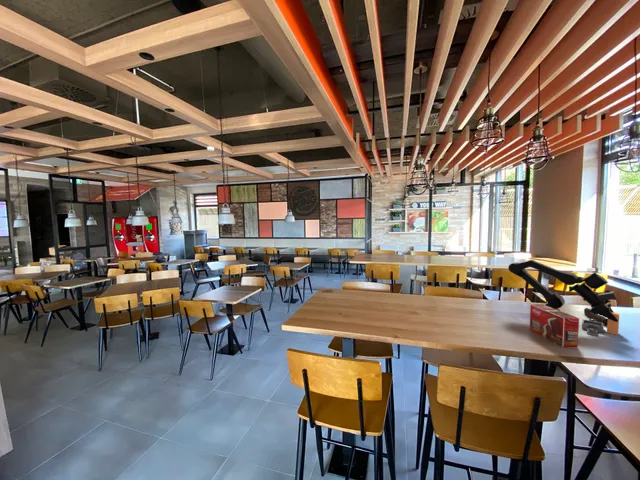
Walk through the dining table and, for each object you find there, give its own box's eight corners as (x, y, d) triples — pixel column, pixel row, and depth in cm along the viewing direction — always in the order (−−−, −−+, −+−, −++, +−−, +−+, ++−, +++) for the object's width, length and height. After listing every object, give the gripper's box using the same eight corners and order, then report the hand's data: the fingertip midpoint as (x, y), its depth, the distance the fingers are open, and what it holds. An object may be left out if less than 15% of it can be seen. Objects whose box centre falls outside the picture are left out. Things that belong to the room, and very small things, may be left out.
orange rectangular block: (617, 334, 130) (619, 314, 129) (606, 332, 133) (608, 312, 132) (618, 332, 132) (619, 313, 131) (607, 330, 135) (608, 311, 134)
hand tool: (612, 326, 140) (612, 318, 140) (602, 325, 142) (603, 317, 141) (590, 315, 158) (590, 307, 158) (581, 314, 159) (582, 306, 159)
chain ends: (603, 337, 127) (603, 331, 127) (581, 332, 133) (581, 326, 133) (602, 324, 142) (602, 319, 142) (582, 321, 148) (583, 316, 147)
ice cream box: (529, 329, 137) (530, 304, 137) (542, 329, 137) (543, 304, 136) (562, 347, 117) (563, 318, 117) (577, 347, 117) (579, 318, 116)
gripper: (601, 288, 128) (635, 316, 120) (605, 282, 140) (636, 308, 132) (578, 300, 135) (609, 328, 127) (584, 294, 146) (612, 319, 138)
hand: (617, 320), depth 131 cm, fingers closed on orange rectangular block, 4 cm apart
